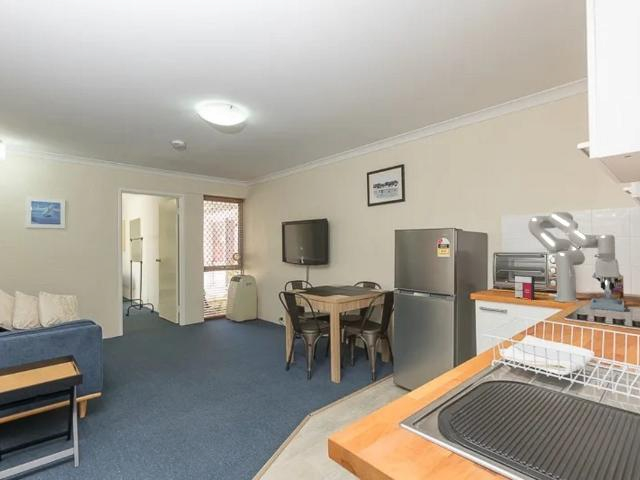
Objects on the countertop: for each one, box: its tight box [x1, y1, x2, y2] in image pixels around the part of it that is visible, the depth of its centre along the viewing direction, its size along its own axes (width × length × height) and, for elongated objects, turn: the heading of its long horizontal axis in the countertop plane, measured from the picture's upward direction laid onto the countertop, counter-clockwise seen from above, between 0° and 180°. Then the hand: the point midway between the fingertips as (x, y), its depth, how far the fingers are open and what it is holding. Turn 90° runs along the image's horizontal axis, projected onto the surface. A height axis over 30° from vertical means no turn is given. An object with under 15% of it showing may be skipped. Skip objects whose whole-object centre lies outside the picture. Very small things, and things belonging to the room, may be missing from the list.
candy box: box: [611, 274, 625, 299], centre depth 224 cm, size 9×4×15 cm, turn 56°
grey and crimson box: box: [513, 274, 536, 300], centre depth 226 cm, size 11×4×15 cm, turn 37°
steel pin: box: [603, 277, 611, 299], centre depth 192 cm, size 5×5×13 cm
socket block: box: [597, 292, 621, 300], centre depth 208 cm, size 10×10×5 cm
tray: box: [589, 298, 625, 313], centre depth 193 cm, size 14×18×4 cm
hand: (607, 289), depth 192 cm, fingers closed on steel pin, 3 cm apart
